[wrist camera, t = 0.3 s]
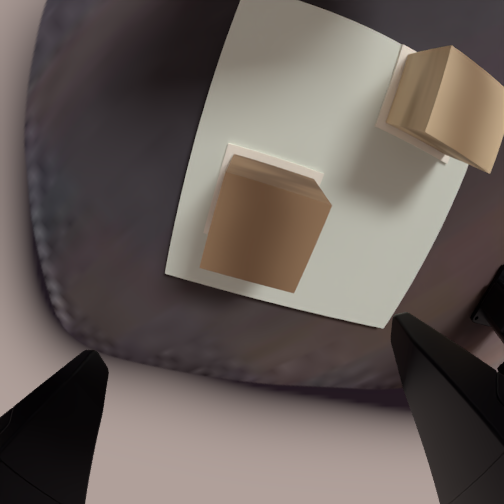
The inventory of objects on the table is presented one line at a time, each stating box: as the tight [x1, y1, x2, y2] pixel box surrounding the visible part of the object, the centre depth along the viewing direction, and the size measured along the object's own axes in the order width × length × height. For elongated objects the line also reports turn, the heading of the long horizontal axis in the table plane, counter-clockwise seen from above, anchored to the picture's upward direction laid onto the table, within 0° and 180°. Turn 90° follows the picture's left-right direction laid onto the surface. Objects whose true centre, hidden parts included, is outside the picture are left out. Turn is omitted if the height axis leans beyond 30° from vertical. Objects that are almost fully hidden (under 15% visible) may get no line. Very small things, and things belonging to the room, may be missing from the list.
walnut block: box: [199, 154, 332, 293], centre depth 17 cm, size 5×5×5 cm
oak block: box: [386, 45, 504, 174], centre depth 13 cm, size 5×5×5 cm
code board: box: [165, 0, 469, 328], centre depth 19 cm, size 18×20×1 cm
